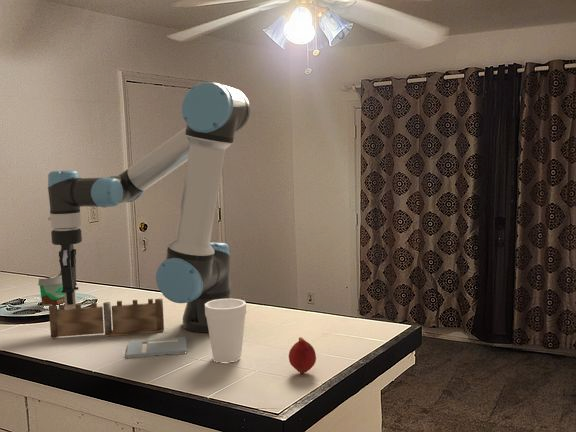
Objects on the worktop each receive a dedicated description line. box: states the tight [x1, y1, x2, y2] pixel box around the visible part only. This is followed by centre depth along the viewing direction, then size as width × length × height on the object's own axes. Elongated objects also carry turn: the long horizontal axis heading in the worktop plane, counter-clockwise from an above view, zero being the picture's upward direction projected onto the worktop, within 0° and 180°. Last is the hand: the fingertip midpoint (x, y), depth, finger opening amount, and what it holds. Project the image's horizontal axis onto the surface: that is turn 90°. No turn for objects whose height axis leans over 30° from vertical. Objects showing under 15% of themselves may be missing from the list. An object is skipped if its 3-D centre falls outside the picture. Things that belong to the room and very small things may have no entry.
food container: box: [37, 270, 65, 308], centre depth 185 cm, size 12×6×10 cm, turn 168°
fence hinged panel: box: [48, 301, 105, 339], centre depth 153 cm, size 13×2×8 cm, turn 101°
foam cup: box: [205, 298, 247, 363], centre depth 135 cm, size 10×9×13 cm
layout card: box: [125, 336, 188, 359], centre depth 143 cm, size 14×10×1 cm
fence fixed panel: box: [102, 298, 165, 337], centre depth 156 cm, size 15×4×9 cm, turn 101°
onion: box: [288, 336, 317, 374], centre depth 125 cm, size 6×6×8 cm
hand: (71, 315), depth 158 cm, fingers closed
